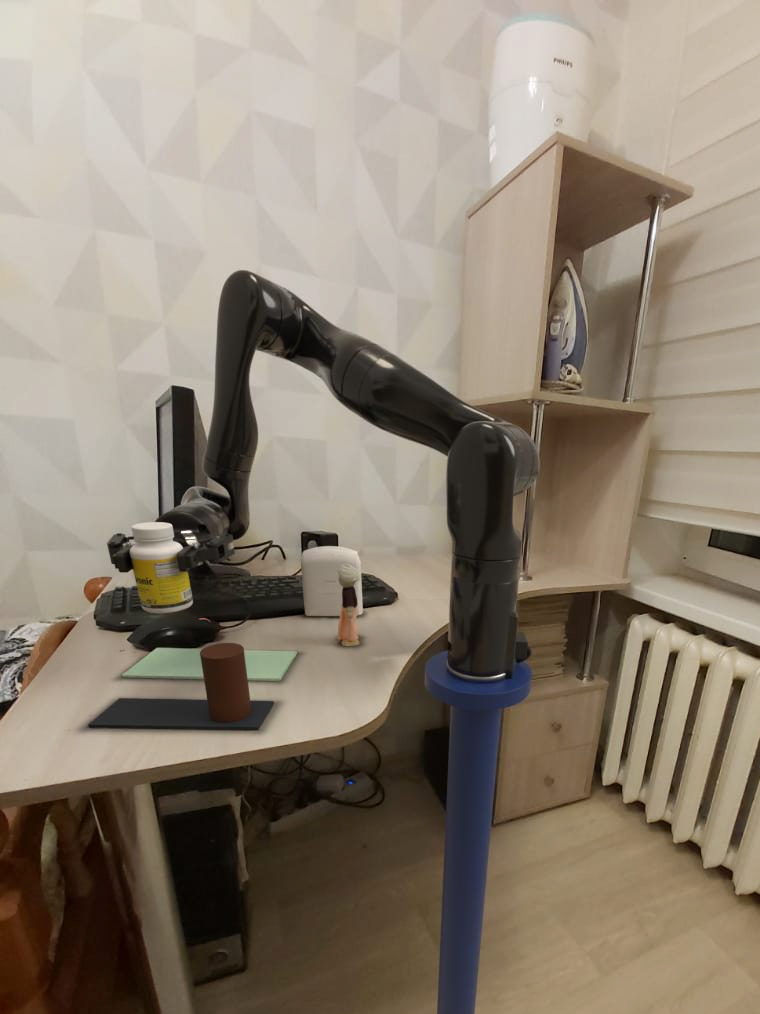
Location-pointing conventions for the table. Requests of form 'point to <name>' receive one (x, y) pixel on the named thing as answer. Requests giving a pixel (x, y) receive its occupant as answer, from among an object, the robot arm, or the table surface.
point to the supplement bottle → (159, 569)
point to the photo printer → (327, 579)
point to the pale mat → (189, 664)
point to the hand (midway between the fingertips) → (151, 563)
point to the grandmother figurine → (348, 605)
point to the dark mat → (174, 715)
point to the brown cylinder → (226, 682)
